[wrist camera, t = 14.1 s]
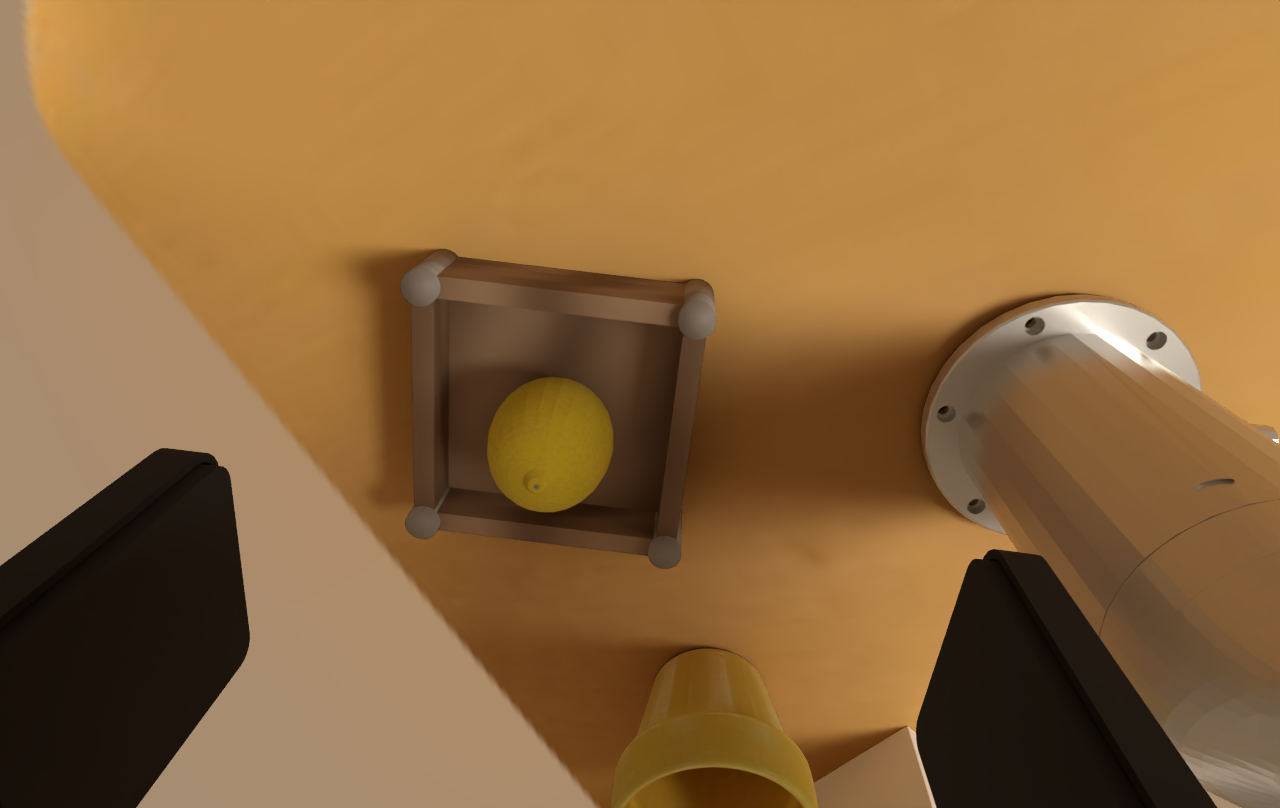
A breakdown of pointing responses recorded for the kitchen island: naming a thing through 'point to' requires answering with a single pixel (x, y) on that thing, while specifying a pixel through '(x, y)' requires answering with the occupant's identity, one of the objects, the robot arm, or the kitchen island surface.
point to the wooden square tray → (554, 347)
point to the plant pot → (711, 742)
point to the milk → (879, 778)
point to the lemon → (550, 444)
